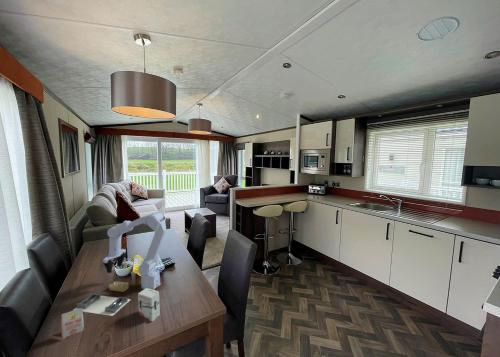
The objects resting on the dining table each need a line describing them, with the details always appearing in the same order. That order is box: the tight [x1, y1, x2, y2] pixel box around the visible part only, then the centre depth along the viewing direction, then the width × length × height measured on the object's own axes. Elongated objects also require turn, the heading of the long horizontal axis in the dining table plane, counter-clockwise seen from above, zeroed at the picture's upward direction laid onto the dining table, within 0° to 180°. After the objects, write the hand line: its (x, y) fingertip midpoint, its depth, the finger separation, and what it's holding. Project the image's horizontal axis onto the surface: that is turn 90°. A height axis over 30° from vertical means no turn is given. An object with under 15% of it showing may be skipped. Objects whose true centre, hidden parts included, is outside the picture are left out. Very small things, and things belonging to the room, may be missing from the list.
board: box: [72, 295, 132, 317], centre depth 107 cm, size 22×12×1 cm, turn 81°
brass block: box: [108, 280, 129, 292], centre depth 120 cm, size 9×4×4 cm, turn 81°
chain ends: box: [76, 293, 129, 314], centre depth 107 cm, size 21×9×2 cm, turn 81°
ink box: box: [137, 288, 161, 322], centre depth 100 cm, size 8×5×12 cm, turn 69°
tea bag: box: [60, 308, 85, 341], centre depth 90 cm, size 4×7×10 cm, turn 124°
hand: (114, 269), depth 125 cm, fingers open, 7 cm apart
